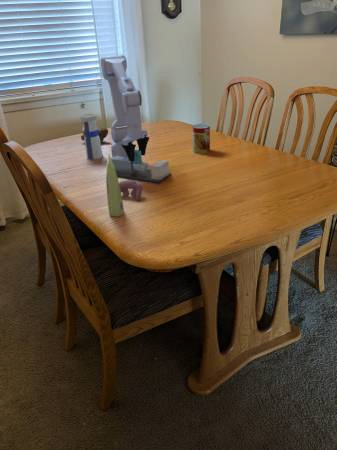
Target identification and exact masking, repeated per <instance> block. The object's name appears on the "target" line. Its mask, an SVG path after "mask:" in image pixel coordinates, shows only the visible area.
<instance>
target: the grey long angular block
mask: <svg viewBox="0 0 337 450" xmlns="http://www.w3.org/2000/svg"><path fill="white" fill-rule="evenodd" d="M111 159H112V162H113V165H114V168H115V171H116V174H117V178H122V179H127V180H131V181H137V182H138V181H140V182H143V183H149V184H155V185H160V184H161V183H163V182H164V181H165V180H167V179H169V178H170V177H171V176H172V172H169V175H168V176H166V177H165V178H163V179H162V180H156V179H152V175H151V169H148V170H146V171H139V170H133V169H132V164H131V163H132V162H133V161H129V159H128V157H122V156H114V157H112V156H111Z"/></svg>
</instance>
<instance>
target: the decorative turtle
mask: <svg viewBox="0 0 337 450" xmlns="http://www.w3.org/2000/svg"><path fill="white" fill-rule="evenodd" d="M97 130H98V135H99V138H100V143H101V144H102V143H103V142H104V140H105V138H107V136H108V135H109V130H108V129H107V127H103V128H101V129H100V128H98V129H97ZM84 138H85V136H84V135H83V134H82V135H80V139H81V140H82V141H84V142H85V140H84ZM102 141H103V142H102Z"/></svg>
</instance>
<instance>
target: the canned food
mask: <svg viewBox="0 0 337 450" xmlns="http://www.w3.org/2000/svg"><path fill="white" fill-rule="evenodd" d="M192 150H193V151H192V152H193V153H194V154H199V155H205V154H208V153H210V151H211V126H210V124H207V123H197V124H194V125H192Z"/></svg>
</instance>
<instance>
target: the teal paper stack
mask: <svg viewBox="0 0 337 450" xmlns="http://www.w3.org/2000/svg"><path fill="white" fill-rule="evenodd" d="M142 159H143V156H142V155H141V150H139V149H135V160H134V161H133V162H132V163H131V164H132V169H133V170H139V171H146V170H149V163H148V162H143V160H142Z"/></svg>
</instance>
